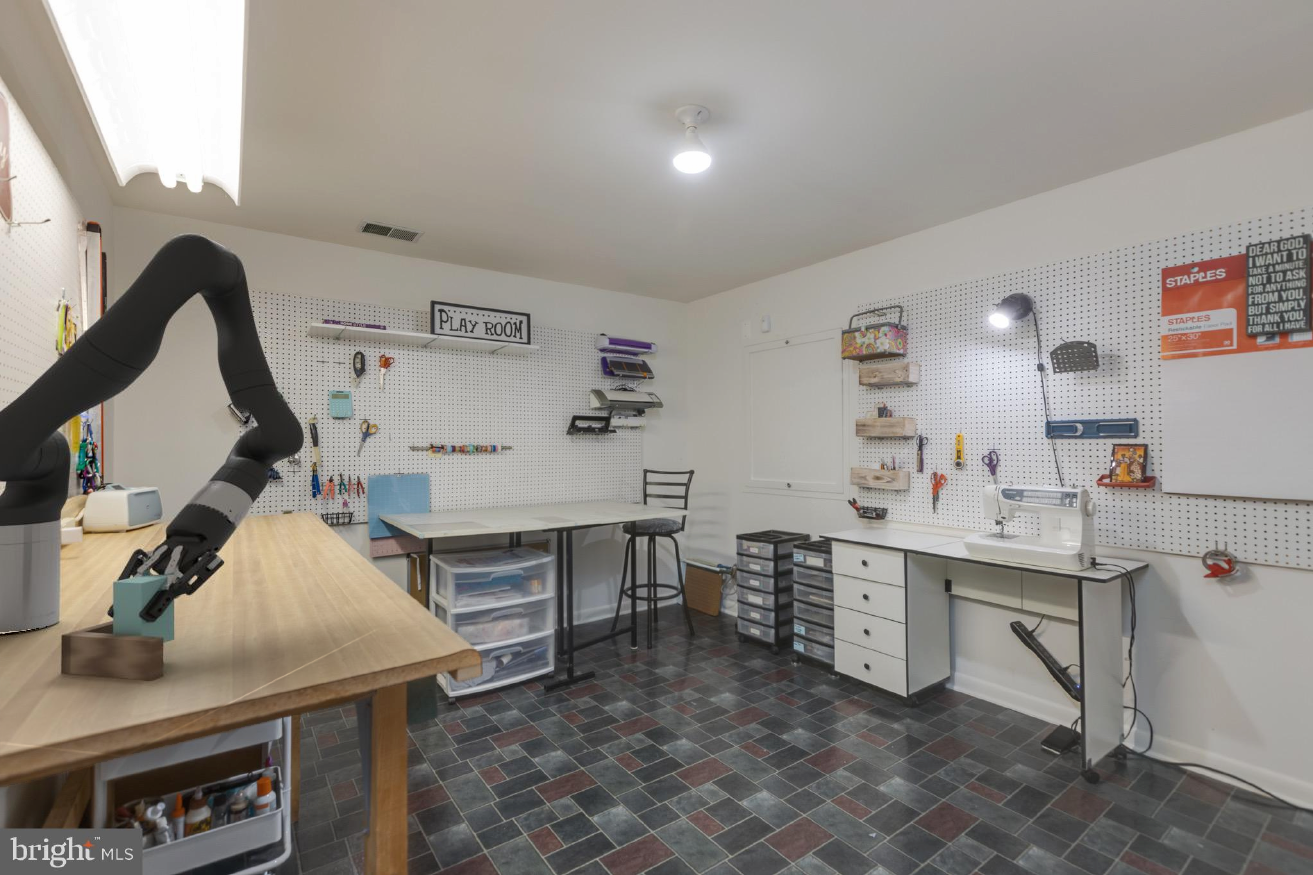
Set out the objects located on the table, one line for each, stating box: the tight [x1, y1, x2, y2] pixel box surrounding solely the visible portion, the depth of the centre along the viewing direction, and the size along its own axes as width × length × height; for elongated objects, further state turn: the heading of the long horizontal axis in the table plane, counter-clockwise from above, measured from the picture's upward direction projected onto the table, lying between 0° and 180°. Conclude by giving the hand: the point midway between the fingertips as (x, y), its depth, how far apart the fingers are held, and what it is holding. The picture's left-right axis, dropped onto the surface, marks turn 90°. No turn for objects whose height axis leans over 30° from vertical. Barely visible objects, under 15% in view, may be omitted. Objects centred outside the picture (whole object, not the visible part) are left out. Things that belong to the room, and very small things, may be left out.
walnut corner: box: [60, 620, 164, 681], centre depth 81 cm, size 14×10×5 cm
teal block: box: [112, 574, 175, 644], centre depth 81 cm, size 4×4×9 cm
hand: (130, 618), depth 79 cm, fingers closed on teal block, 4 cm apart
